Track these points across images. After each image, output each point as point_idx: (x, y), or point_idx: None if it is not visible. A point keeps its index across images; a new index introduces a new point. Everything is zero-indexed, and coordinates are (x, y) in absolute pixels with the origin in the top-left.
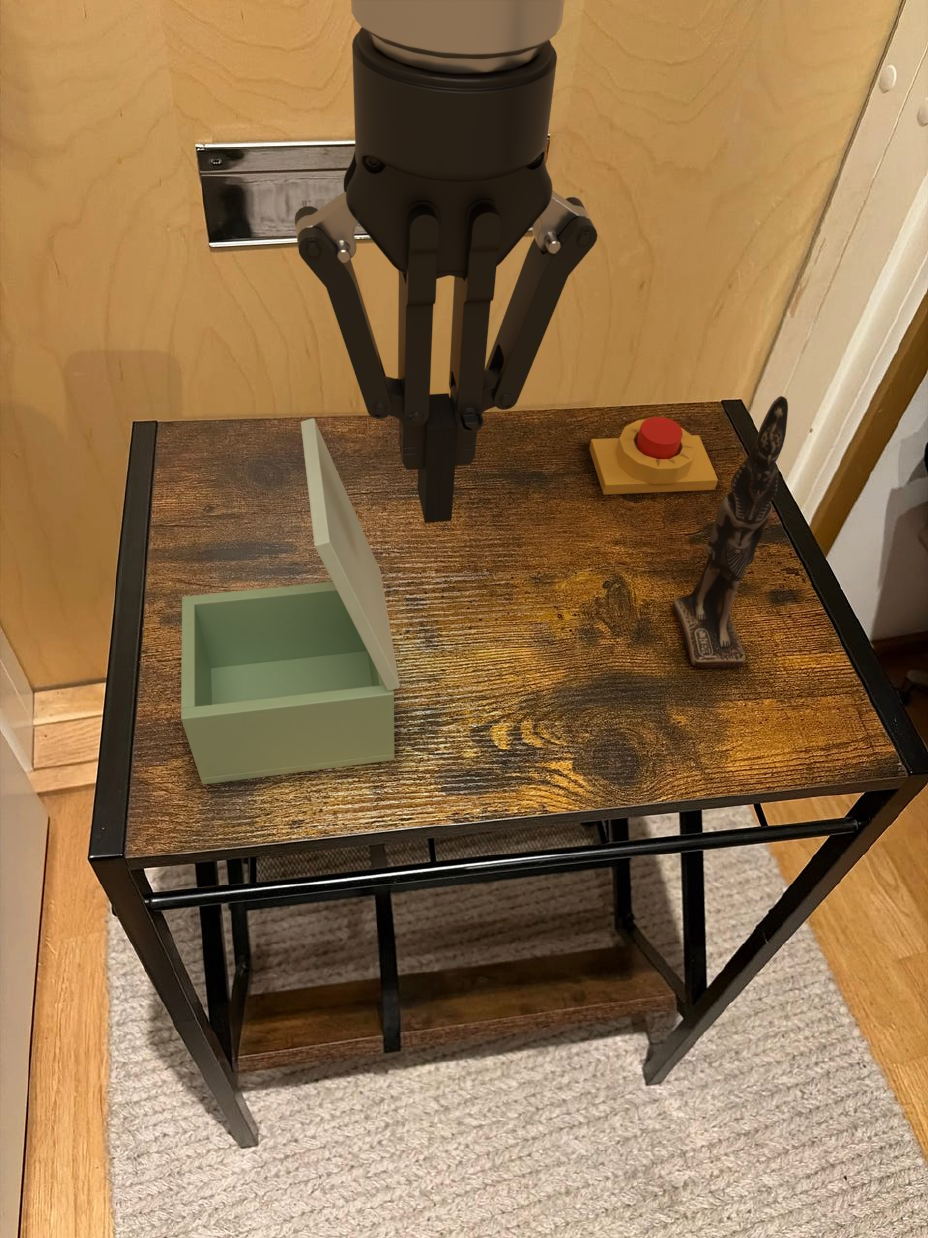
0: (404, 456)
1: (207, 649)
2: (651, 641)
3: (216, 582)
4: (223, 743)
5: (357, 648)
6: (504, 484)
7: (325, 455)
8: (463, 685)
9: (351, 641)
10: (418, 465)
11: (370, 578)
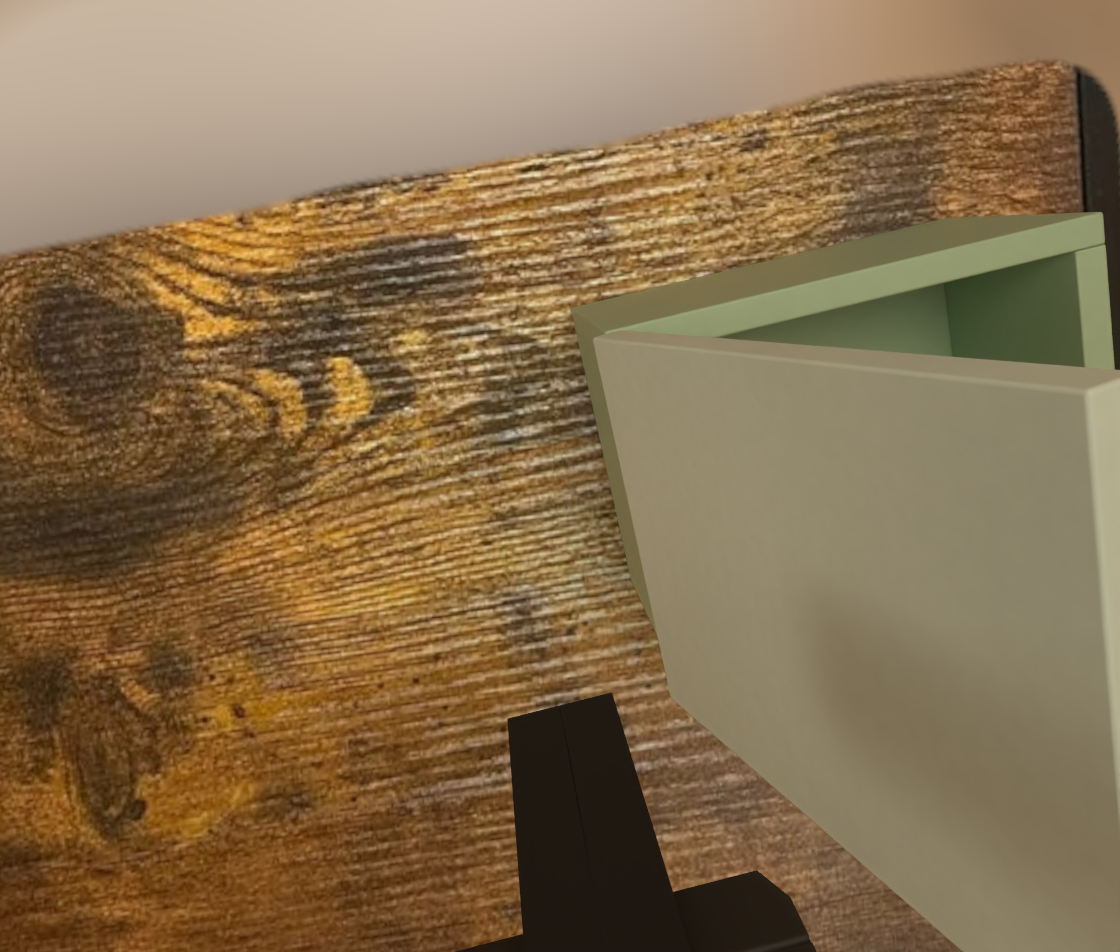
0: (795, 928)
1: None
2: (21, 671)
3: None
4: (960, 230)
5: None
6: None
7: (1036, 942)
8: (439, 509)
9: None
10: (704, 901)
11: (721, 601)
